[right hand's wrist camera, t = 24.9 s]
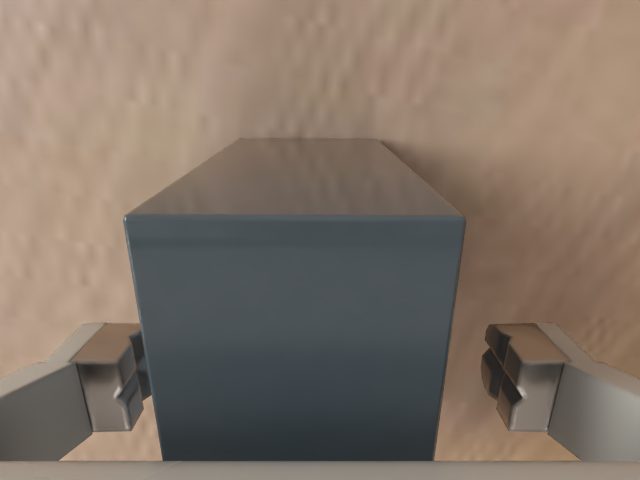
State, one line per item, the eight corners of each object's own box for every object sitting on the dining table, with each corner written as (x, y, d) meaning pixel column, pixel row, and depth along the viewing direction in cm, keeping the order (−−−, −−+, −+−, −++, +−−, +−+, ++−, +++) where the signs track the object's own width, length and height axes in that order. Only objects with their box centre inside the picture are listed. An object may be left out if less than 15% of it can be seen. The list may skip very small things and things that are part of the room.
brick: (252, 369, 16) (190, 636, 8) (237, 138, 13) (119, 215, 5) (366, 369, 16) (412, 636, 8) (378, 138, 13) (468, 216, 5)
